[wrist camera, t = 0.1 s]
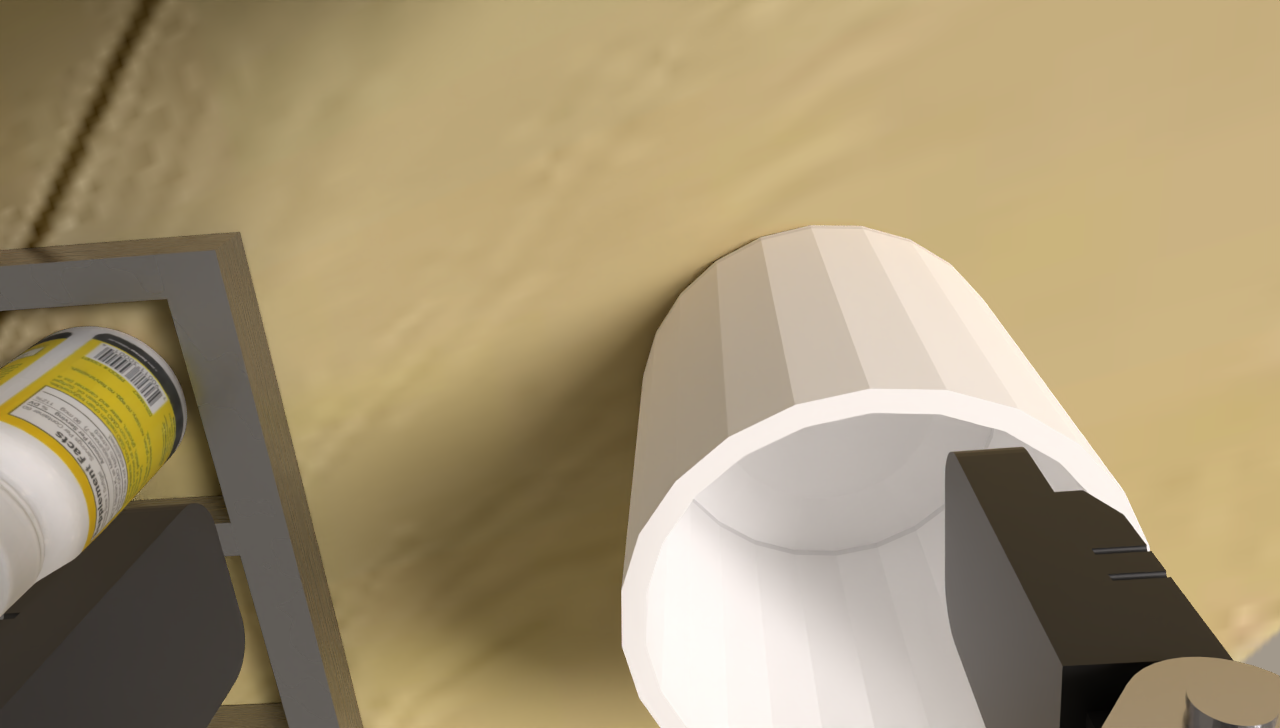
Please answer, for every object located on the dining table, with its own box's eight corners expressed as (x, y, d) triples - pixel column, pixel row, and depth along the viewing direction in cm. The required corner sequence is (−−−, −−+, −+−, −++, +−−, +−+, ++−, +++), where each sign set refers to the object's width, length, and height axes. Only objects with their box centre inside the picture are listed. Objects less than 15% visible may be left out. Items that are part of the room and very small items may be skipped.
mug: (569, 360, 29) (512, 575, 20) (877, 143, 27) (978, 276, 17) (822, 656, 33) (873, 956, 24) (1115, 493, 30) (1305, 760, 21)
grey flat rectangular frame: (-112, 259, 29) (-155, 278, 28) (239, 232, 28) (214, 250, 27) (140, 906, 39) (118, 945, 37) (405, 898, 38) (394, 938, 37)
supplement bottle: (37, 459, 31) (-175, 640, 24) (17, 312, 30) (-219, 456, 22) (198, 478, 31) (38, 665, 24) (189, 332, 30) (12, 484, 22)
